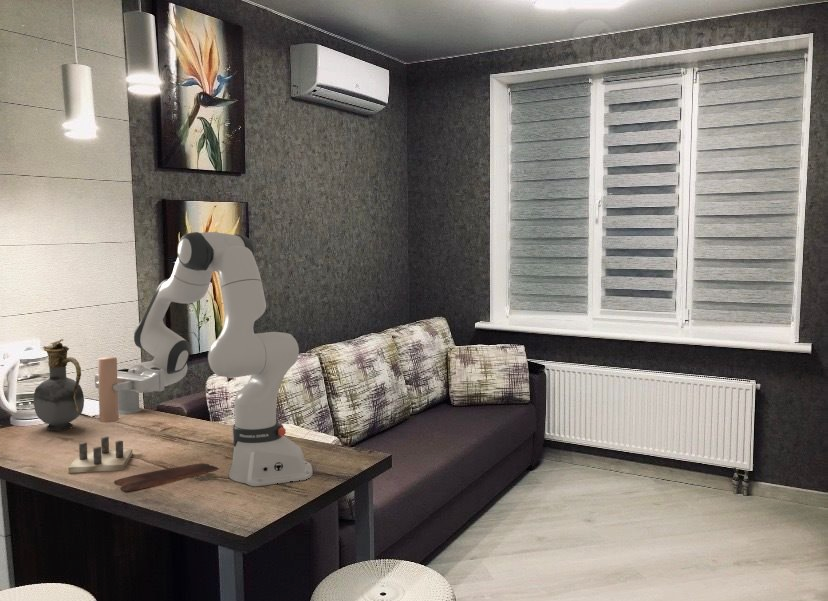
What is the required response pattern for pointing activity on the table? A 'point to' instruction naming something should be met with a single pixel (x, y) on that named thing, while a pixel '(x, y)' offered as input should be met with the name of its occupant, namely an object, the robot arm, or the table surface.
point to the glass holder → (128, 400)
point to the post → (107, 389)
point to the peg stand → (100, 458)
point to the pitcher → (59, 391)
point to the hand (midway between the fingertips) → (105, 386)
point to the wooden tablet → (162, 476)
